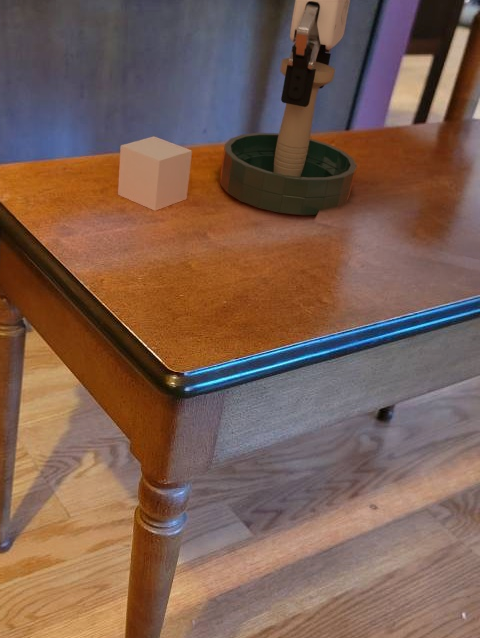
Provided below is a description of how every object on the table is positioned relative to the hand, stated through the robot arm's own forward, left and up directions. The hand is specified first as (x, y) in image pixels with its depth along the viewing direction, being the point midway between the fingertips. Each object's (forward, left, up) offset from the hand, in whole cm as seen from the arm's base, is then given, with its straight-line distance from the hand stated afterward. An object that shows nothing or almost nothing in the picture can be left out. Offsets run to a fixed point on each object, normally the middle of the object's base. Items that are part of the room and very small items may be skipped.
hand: (303, 94), depth 89 cm
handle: (0, 0, -12) cm, 12 cm away
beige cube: (+14, +11, -12) cm, 22 cm away
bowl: (0, 0, -12) cm, 12 cm away
